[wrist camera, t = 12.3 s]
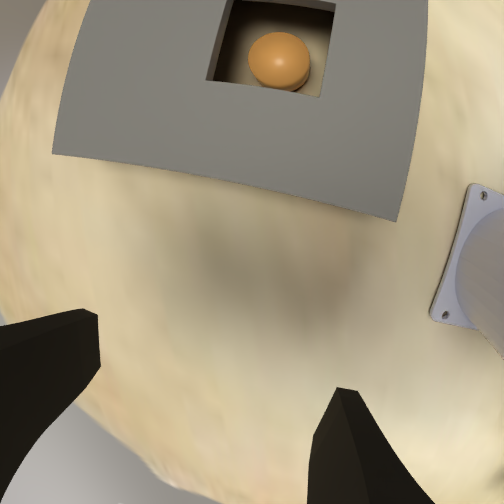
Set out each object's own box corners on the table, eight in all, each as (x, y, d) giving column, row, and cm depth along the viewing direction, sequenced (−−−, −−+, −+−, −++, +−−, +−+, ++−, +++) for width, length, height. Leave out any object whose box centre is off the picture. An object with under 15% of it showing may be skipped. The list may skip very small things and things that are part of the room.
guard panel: (405, 9, 12) (427, -30, 7) (373, 208, 15) (396, 222, 11) (146, -15, 14) (110, -45, 9) (101, 153, 17) (51, 154, 13)
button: (314, 48, 13) (313, 37, 12) (304, 97, 14) (303, 89, 12) (259, 40, 13) (254, 29, 12) (248, 87, 14) (242, 80, 13)
